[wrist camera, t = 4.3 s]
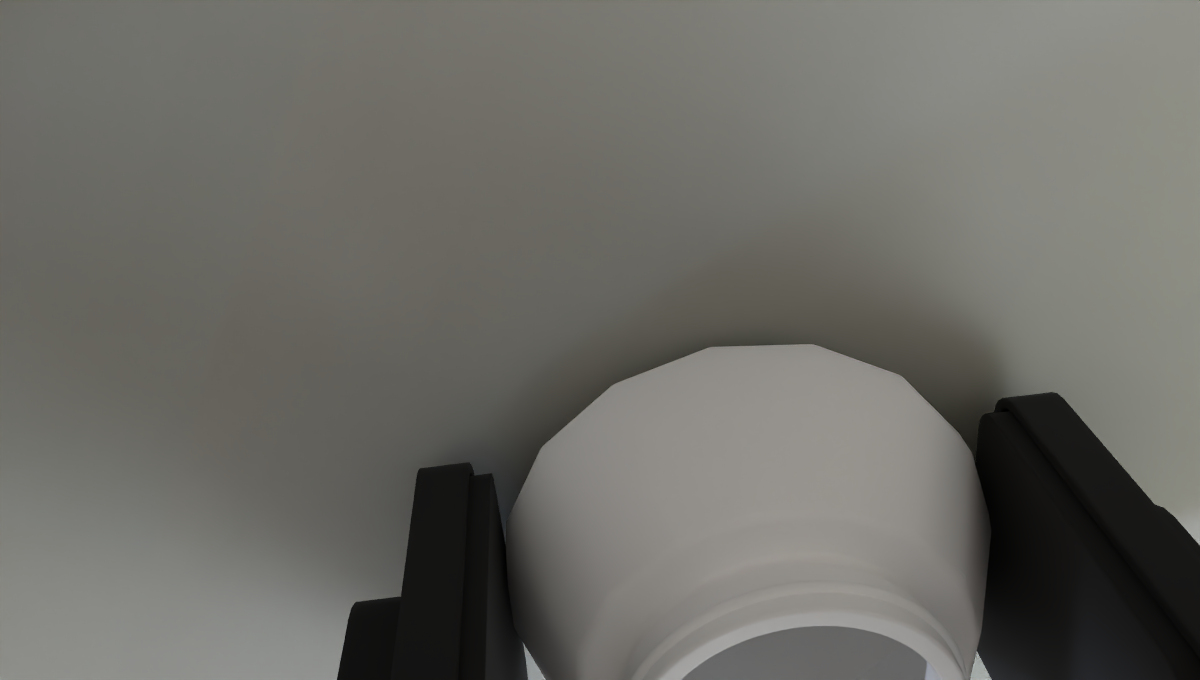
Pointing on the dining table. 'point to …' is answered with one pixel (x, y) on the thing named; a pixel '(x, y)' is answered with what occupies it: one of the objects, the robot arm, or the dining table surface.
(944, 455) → the lidless jar
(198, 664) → the dining table surface
